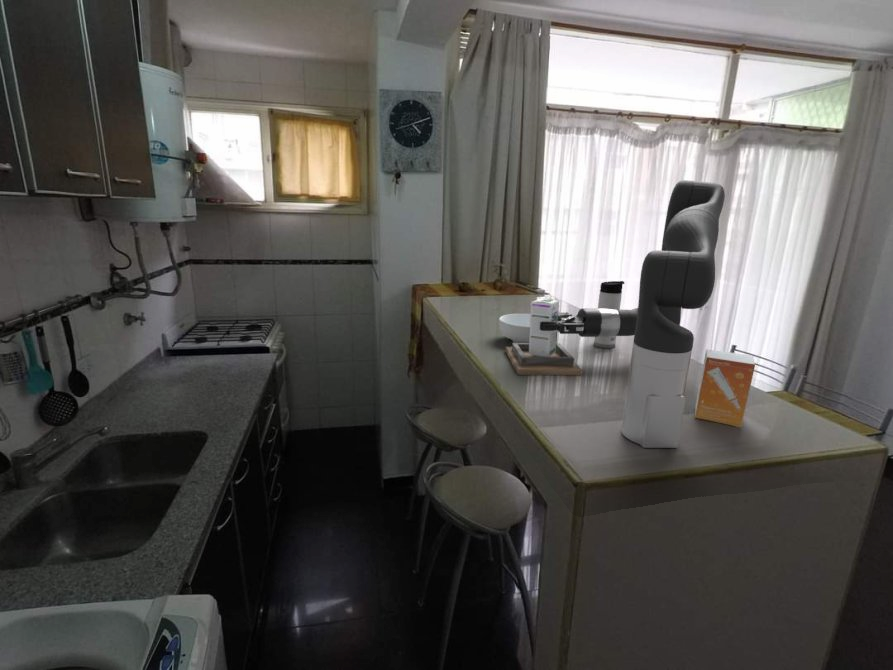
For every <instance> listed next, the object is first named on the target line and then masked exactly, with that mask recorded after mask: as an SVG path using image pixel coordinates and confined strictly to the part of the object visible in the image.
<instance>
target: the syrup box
mask: <svg viewBox="0 0 893 670" xmlns="http://www.w3.org/2000/svg"><path fill="white" fill-rule="evenodd" d="M559 309H560V300H558V299H552V298H538V299H536V300H533V301H531V302H530V314H531V316H530V339H529V354H531V355H535V356H541V357H550V356H551V355H553V354H554V353H556V346H557V342H558V332H555V331H541V330H540V322H555V323H556V322H557V321H558V313H560V311H559Z"/></svg>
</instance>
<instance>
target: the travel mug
mask: <svg viewBox="0 0 893 670" xmlns="http://www.w3.org/2000/svg"><path fill="white" fill-rule="evenodd" d="M623 285H625V281H623V280H619V281H616V280H615V281H613V280H612V281H610V280H609V281H603V282H601V284H600V289H599V295H598V304H597V309H614V310H621V302H622V295H623ZM593 338H594V340H593V345H594V346H595V347H598V348H603V349H613V348H615V347H616V344H617V343H616V342H617V336H610V337H593Z"/></svg>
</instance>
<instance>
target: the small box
mask: <svg viewBox="0 0 893 670" xmlns="http://www.w3.org/2000/svg"><path fill="white" fill-rule="evenodd" d="M755 368H756V363H755V360H754V356H753V355H749V354H740V353H736V352H735V353H734V352H731V351H722V350H720V351H719V350H715V349H714V350H712V349H705V352H704V358H703V364H702V368H701V374H700V378H699V379H700V380H699V384H698V385H699V386H698V389H697V395H696V401H695V408H694V409H695V411H694V418H695V419H699V420H700V419H701V420H705V421H710V422H715V423H720V424H724V425H729V426H733V427H737V428H742V425H743V421H744V416H745V412H746V409H747V408H746V407H747V405H748V404H747V403H748V399H749V395H750V390H751V385H752V381H753V379H754V378H753V377H754V373H755Z"/></svg>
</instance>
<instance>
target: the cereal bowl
mask: <svg viewBox="0 0 893 670" xmlns="http://www.w3.org/2000/svg"><path fill="white" fill-rule="evenodd" d="M530 316H531V313H509V314H505V315H501V316H500V317H499V318H498V327H499V330H500V332H501V334H502V335H503V336H504V337H505V338H507V339H509V340H511V341H512V342H513V343H529V339H530Z"/></svg>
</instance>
